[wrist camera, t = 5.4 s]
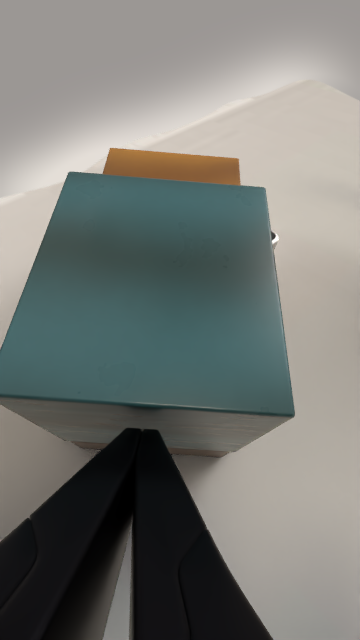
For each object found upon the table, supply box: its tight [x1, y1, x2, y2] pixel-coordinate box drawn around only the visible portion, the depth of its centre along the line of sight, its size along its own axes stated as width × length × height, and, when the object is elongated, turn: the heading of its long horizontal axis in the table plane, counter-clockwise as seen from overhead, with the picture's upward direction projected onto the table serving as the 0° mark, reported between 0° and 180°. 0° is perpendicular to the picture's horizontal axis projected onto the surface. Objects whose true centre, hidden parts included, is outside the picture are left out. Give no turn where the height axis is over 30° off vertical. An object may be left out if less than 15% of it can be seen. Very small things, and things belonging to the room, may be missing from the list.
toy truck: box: [0, 148, 295, 457], centre depth 14 cm, size 13×8×8 cm, turn 177°
